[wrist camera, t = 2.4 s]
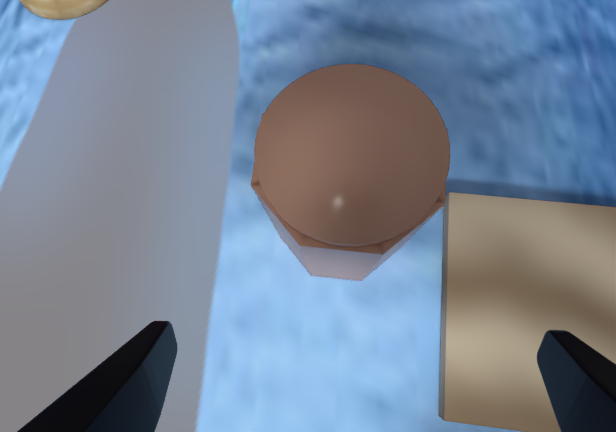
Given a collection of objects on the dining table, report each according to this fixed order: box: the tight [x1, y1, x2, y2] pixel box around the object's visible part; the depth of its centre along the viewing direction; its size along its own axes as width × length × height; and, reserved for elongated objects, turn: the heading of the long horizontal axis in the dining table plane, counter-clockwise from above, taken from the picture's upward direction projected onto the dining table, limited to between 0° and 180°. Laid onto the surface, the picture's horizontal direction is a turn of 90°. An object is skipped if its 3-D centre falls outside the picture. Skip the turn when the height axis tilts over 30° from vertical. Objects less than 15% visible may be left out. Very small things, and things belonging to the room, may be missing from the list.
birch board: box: [439, 192, 616, 432], centre depth 21 cm, size 12×10×1 cm
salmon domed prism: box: [251, 64, 450, 281], centre depth 18 cm, size 7×7×10 cm
